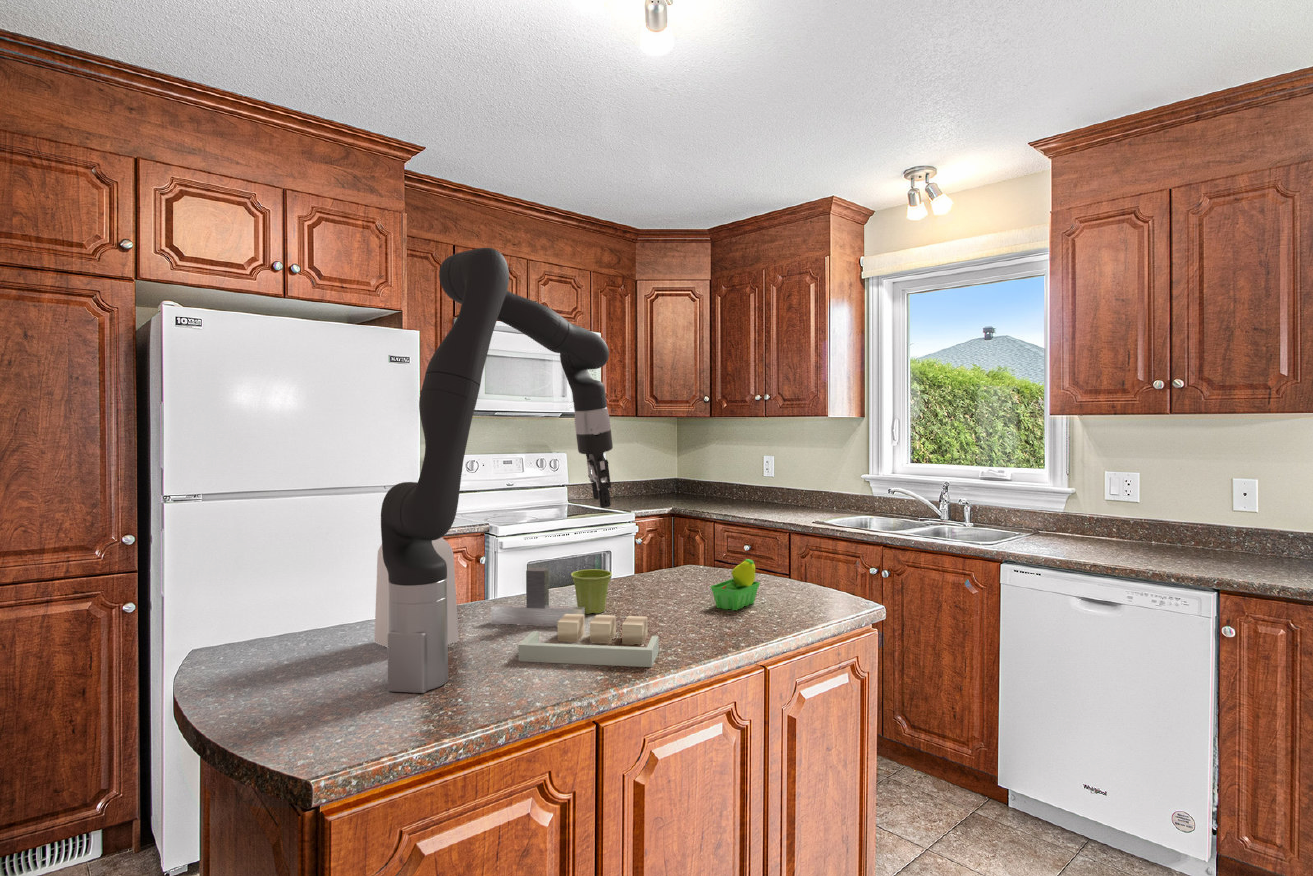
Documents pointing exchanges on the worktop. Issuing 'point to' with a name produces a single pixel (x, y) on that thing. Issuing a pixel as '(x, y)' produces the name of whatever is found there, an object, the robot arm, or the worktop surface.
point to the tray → (587, 653)
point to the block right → (634, 630)
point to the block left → (571, 627)
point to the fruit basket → (737, 588)
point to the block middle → (602, 628)
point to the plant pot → (591, 589)
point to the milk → (383, 595)
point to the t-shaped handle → (533, 604)
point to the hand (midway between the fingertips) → (601, 502)
